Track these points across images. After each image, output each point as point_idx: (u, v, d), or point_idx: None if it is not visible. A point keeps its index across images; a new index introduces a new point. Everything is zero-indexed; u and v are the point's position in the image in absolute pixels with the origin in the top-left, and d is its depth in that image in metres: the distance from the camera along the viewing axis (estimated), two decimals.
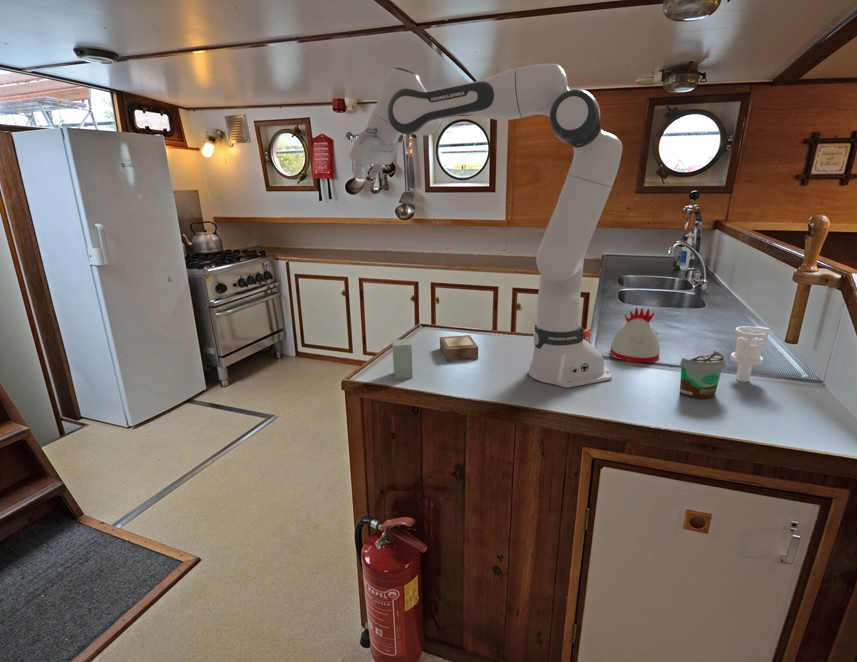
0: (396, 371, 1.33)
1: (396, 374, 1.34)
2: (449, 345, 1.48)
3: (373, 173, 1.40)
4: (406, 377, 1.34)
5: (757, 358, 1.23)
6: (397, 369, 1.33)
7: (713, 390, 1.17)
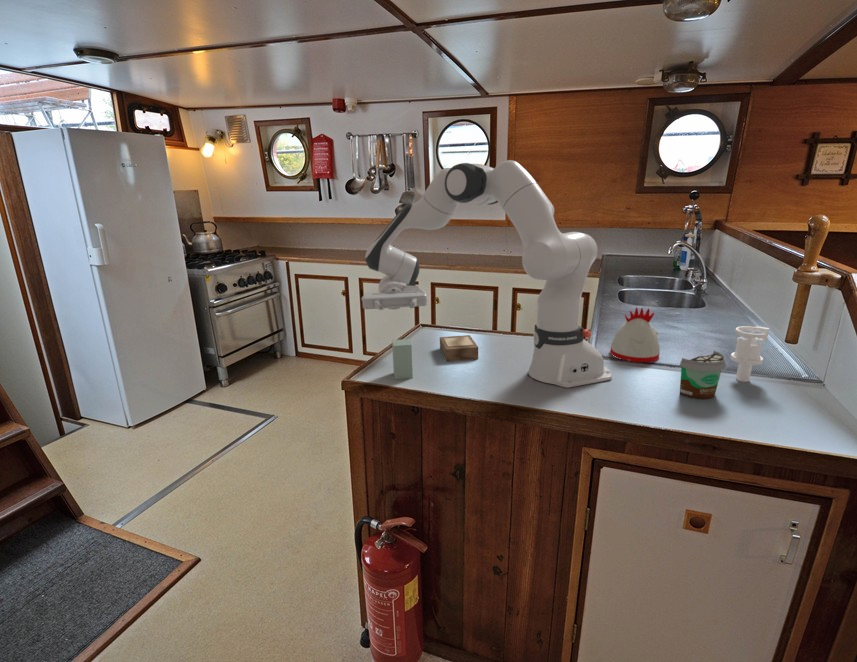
0: (396, 371, 1.33)
1: (396, 374, 1.34)
2: (449, 345, 1.48)
3: (409, 303, 1.44)
4: (406, 377, 1.34)
5: (757, 358, 1.23)
6: (397, 369, 1.33)
7: (713, 390, 1.17)
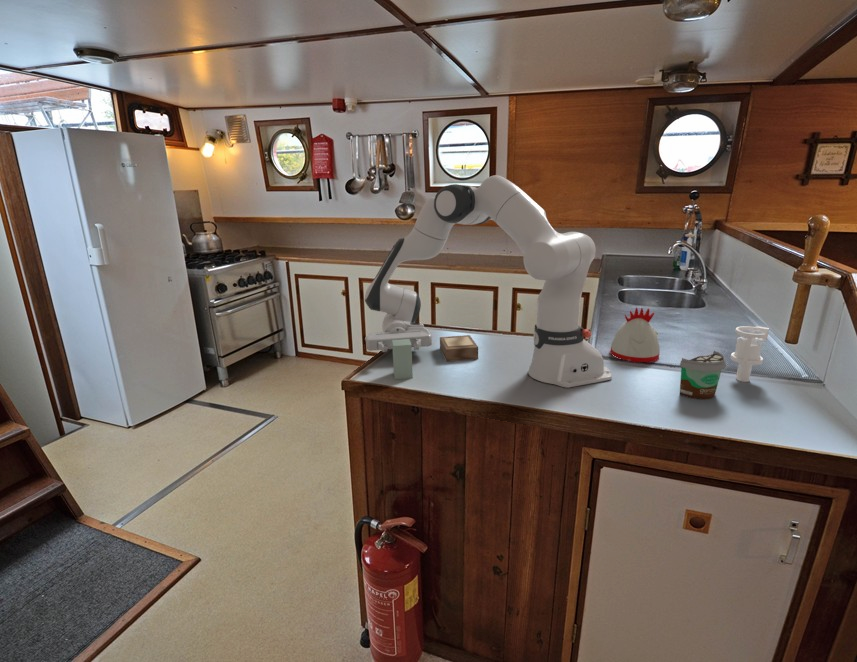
0: (396, 371, 1.33)
1: (396, 374, 1.34)
2: (449, 345, 1.48)
3: None
4: (406, 377, 1.34)
5: (757, 358, 1.23)
6: (397, 369, 1.33)
7: (713, 390, 1.17)
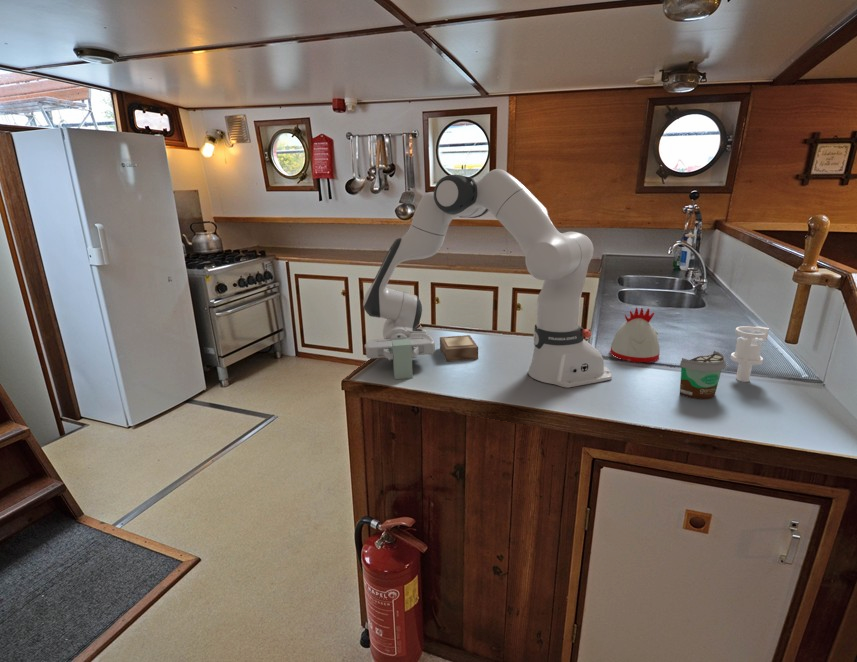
0: (396, 371, 1.33)
1: (396, 374, 1.34)
2: (449, 345, 1.48)
3: None
4: (406, 377, 1.34)
5: (757, 358, 1.23)
6: (397, 369, 1.33)
7: (713, 390, 1.17)
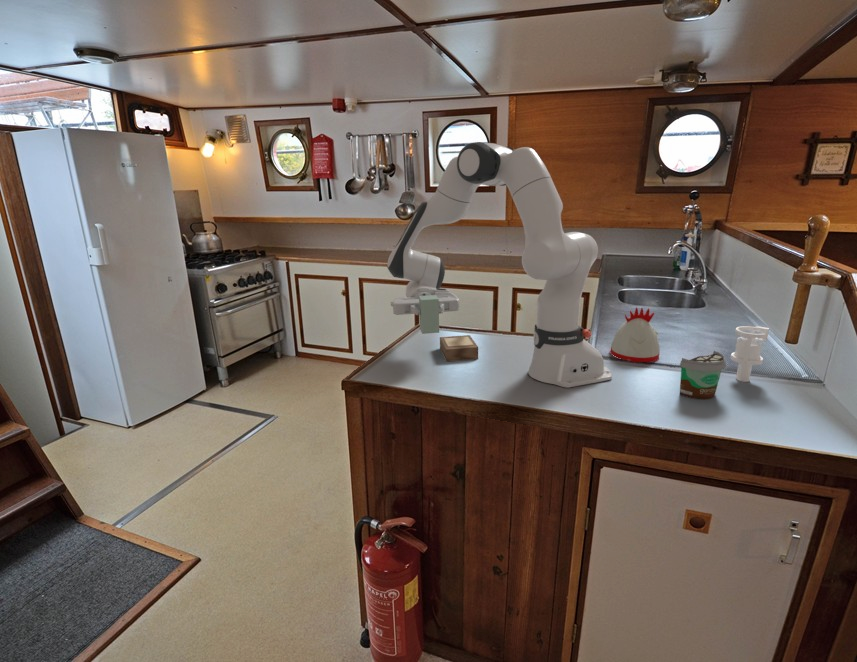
0: (423, 325, 1.37)
1: (423, 328, 1.37)
2: (449, 345, 1.48)
3: None
4: (433, 331, 1.38)
5: (757, 358, 1.23)
6: (424, 324, 1.37)
7: (713, 390, 1.17)
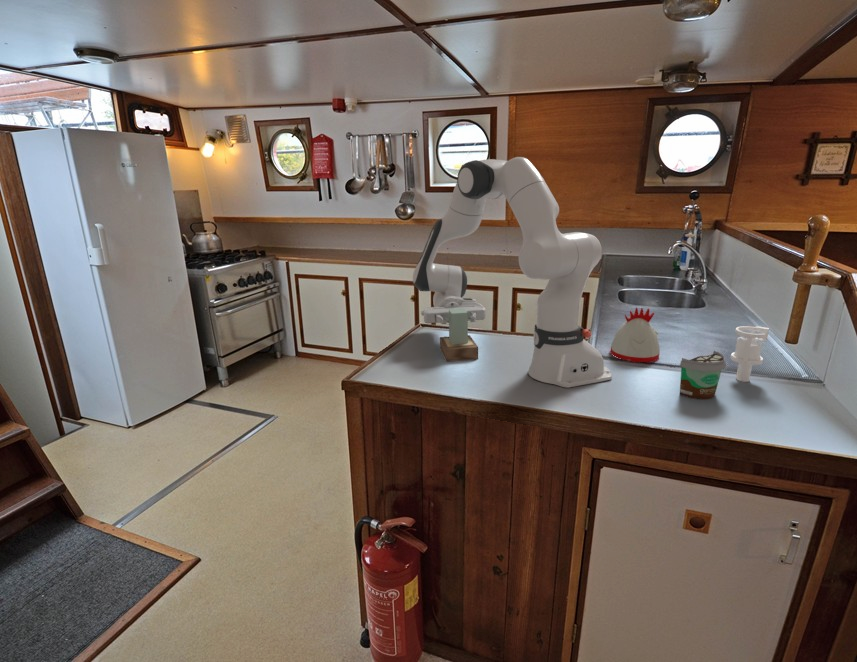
0: (453, 337, 1.48)
1: (453, 339, 1.48)
2: (449, 345, 1.48)
3: (470, 317, 1.50)
4: (462, 342, 1.49)
5: (757, 358, 1.23)
6: (454, 335, 1.48)
7: (713, 390, 1.17)
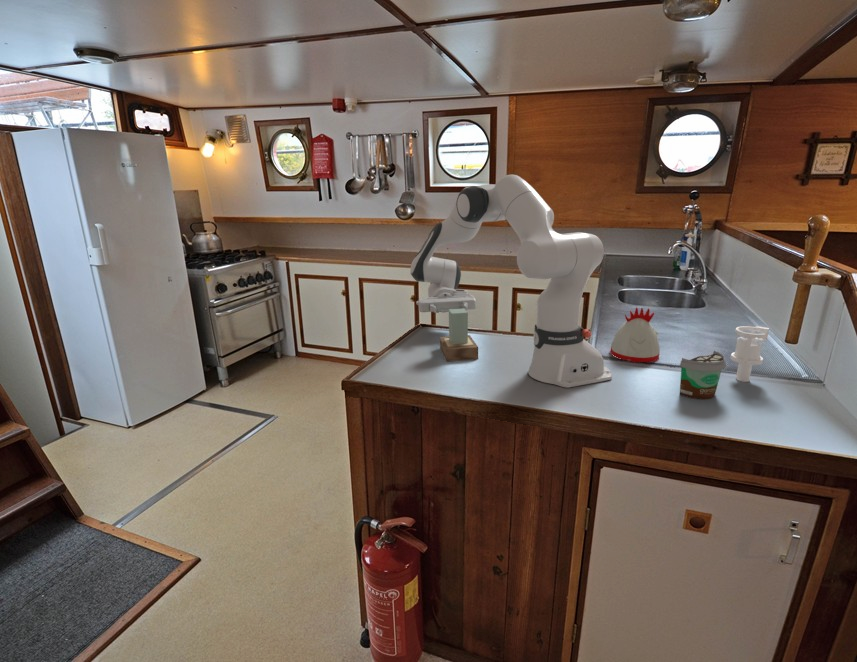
0: (453, 337, 1.48)
1: (453, 339, 1.48)
2: (449, 345, 1.48)
3: (461, 307, 1.62)
4: (462, 342, 1.49)
5: (757, 358, 1.23)
6: (454, 335, 1.48)
7: (713, 390, 1.17)
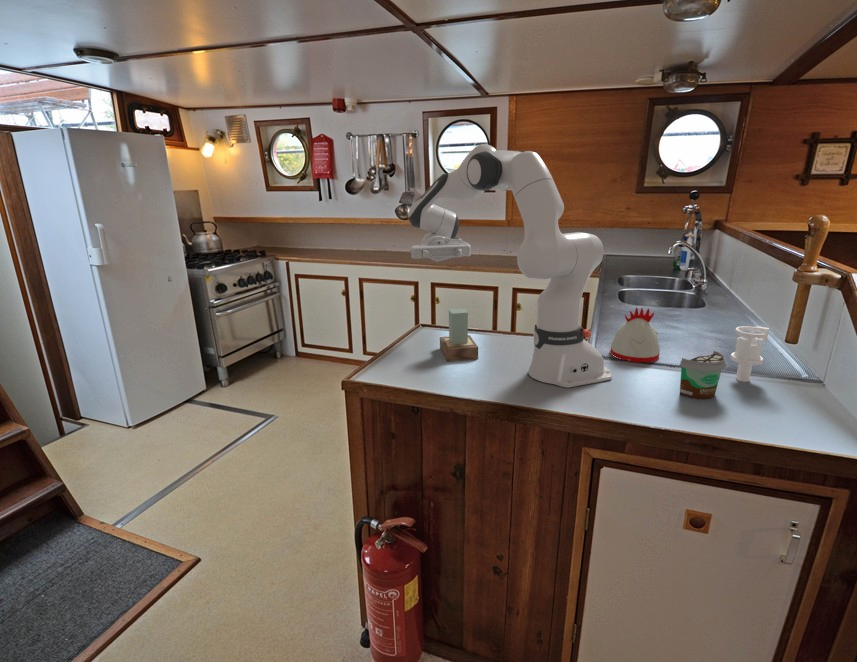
0: (453, 337, 1.48)
1: (453, 339, 1.48)
2: (449, 345, 1.48)
3: (455, 252, 1.56)
4: (462, 342, 1.49)
5: (757, 358, 1.23)
6: (454, 335, 1.48)
7: (713, 390, 1.17)
